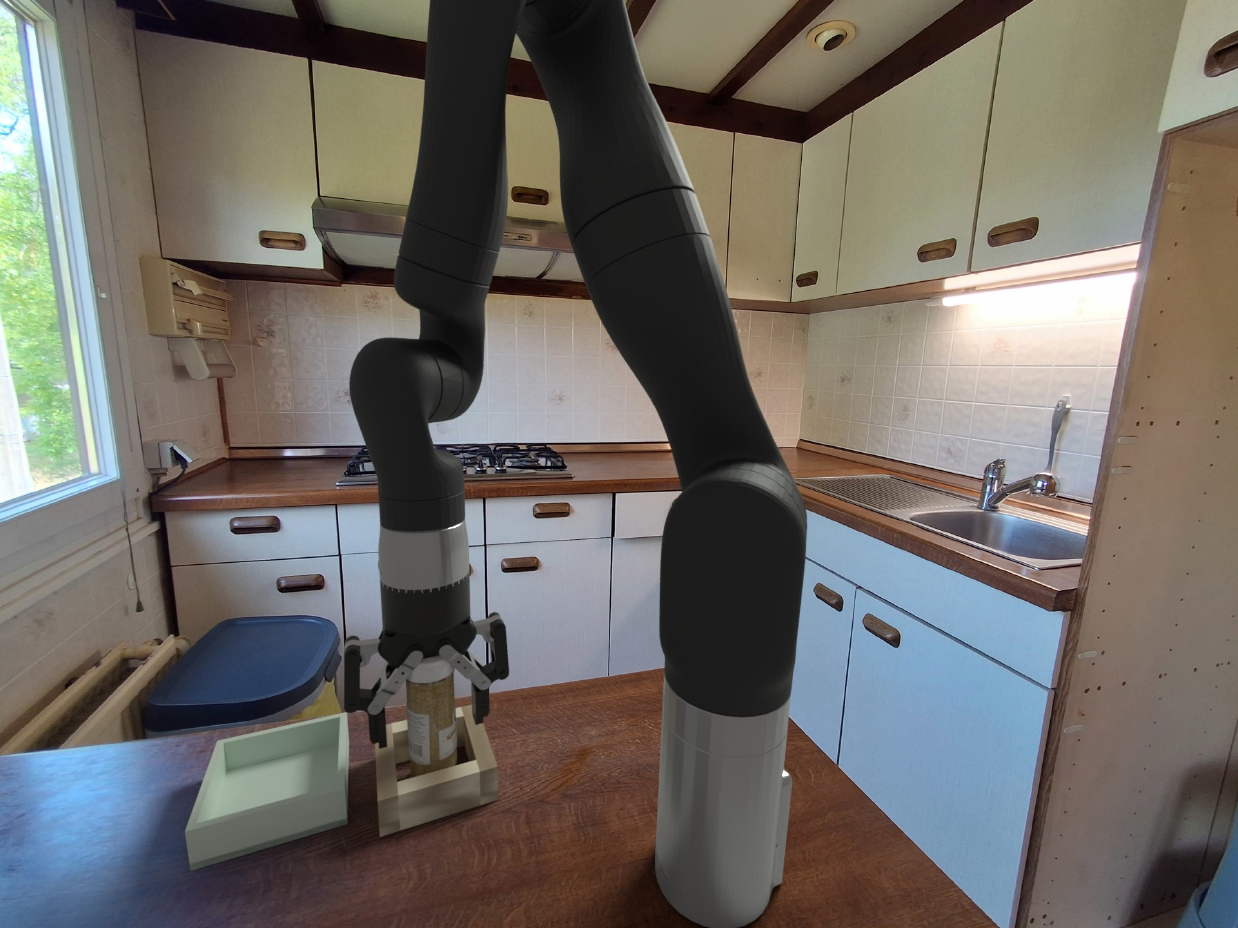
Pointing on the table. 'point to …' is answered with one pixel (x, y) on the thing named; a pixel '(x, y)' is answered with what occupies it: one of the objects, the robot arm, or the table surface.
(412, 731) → the sprinkles bottle
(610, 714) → the table surface
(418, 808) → the socket block
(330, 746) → the tray
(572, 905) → the table surface
